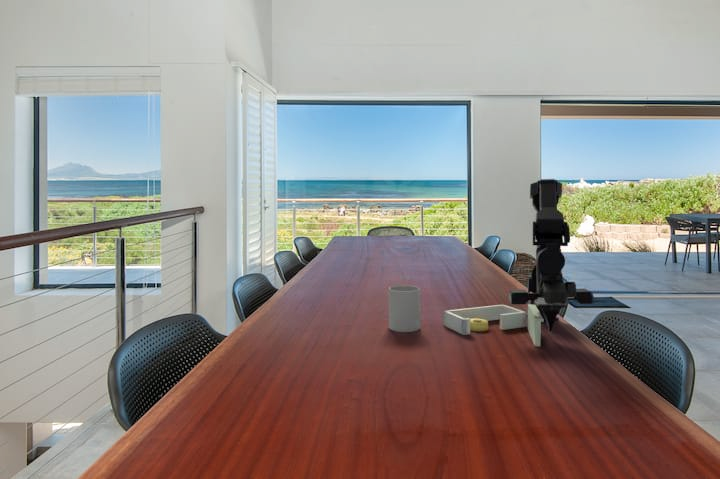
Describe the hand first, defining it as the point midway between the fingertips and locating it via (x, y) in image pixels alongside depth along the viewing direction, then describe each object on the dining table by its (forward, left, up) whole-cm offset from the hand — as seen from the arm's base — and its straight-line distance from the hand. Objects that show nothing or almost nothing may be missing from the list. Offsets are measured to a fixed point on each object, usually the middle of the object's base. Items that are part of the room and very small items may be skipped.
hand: (550, 331), depth 114 cm
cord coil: (+11, -15, -2) cm, 19 cm away
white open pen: (+7, -17, -2) cm, 18 cm away
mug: (+27, -25, -3) cm, 37 cm away
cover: (+2, -3, -2) cm, 4 cm away
